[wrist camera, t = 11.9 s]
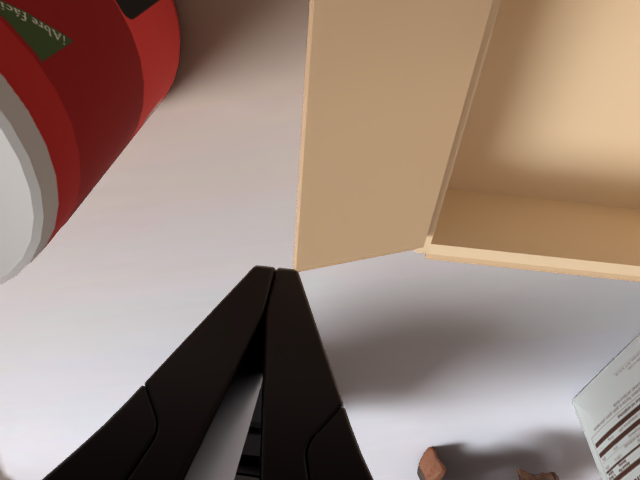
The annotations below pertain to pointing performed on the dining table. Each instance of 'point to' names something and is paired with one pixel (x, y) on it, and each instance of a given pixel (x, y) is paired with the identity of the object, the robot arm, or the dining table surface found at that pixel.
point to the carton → (548, 144)
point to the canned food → (72, 105)
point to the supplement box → (614, 416)
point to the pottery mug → (434, 470)
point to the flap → (379, 122)
